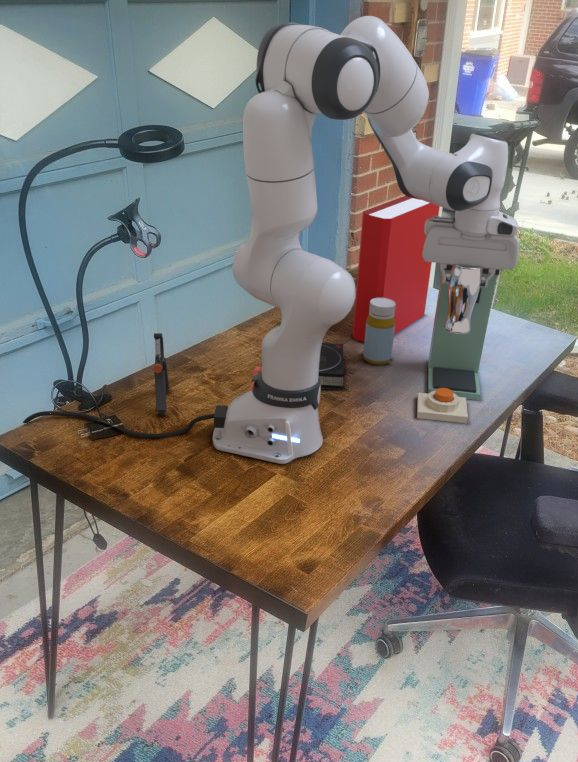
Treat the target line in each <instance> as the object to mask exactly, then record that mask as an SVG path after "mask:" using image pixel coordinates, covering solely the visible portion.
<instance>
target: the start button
mask: <svg viewBox="0 0 578 762" xmlns="http://www.w3.org/2000/svg"><path fill="white" fill-rule="evenodd" d="M453 394H454V393H453V391H452V390H450V389H447V388H438V389H437V390H436V392H435V399H436V400H437V401H440V402H445V403H447V402H451V401H452V399H453Z"/></svg>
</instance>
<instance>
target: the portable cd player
mask: <svg viewBox="0 0 578 762" xmlns="http://www.w3.org/2000/svg"><path fill="white" fill-rule="evenodd" d="M344 365H345V364H344V344H343V343H334V342H333V343H331V342H322V345H321V351H320V361H319V377H320V385H321V390H336V391H343V390H344V377H345V371H344V370H345V369H344V367H345V366H344Z"/></svg>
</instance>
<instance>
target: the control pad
mask: <svg viewBox="0 0 578 762" xmlns="http://www.w3.org/2000/svg"><path fill="white" fill-rule="evenodd" d="M435 392H436V391H432V392H430V393H429V394H428V392H427V393H426V392H418V393H417V401H416V402H417V403H416V419H422V420H429V421H438V422H439V421H440V422H449V423H458V424H459V423H460V424H467V423H468V418H469V415H468V405H467V404H468V403H467V399H466V398H465V397H458V396H457V395H456V394H455V393H454V394H453V399H452V401H451V402H447V403H445V402H440V401H437V400H436V399H435Z"/></svg>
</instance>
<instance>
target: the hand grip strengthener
mask: <svg viewBox="0 0 578 762" xmlns="http://www.w3.org/2000/svg"><path fill="white" fill-rule="evenodd" d="M153 339H154V350H155V352H154V353H155V357H154V365H153V368H152V370H153V373H154V375H153V376H154V386H155V387H154V393H155V412H156V413H157V415H158V416H166V413H167V411H168V410H167V409H168V408H167V406H168V405H167V395H168V393H169V390H170V381H169V373H168V363H167V358H166V357H165V349H164V337H163V333H161V332H154V333H153Z"/></svg>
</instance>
